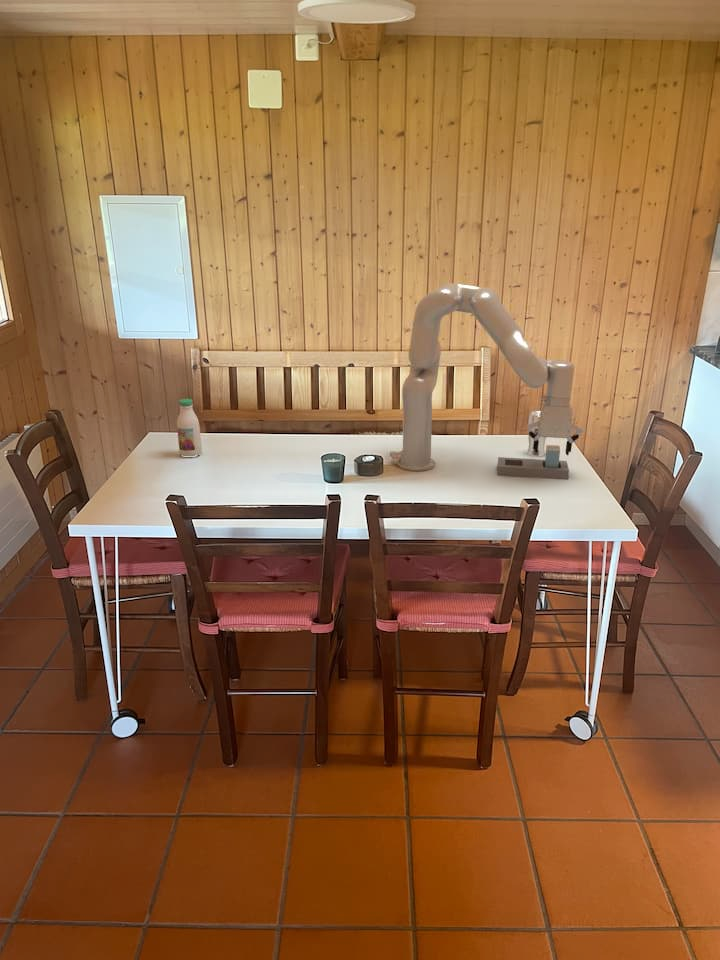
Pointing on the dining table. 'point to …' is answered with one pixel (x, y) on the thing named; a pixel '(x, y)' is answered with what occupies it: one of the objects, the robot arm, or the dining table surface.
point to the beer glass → (534, 418)
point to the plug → (552, 456)
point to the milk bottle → (188, 430)
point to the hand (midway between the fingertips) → (551, 452)
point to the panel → (531, 468)
